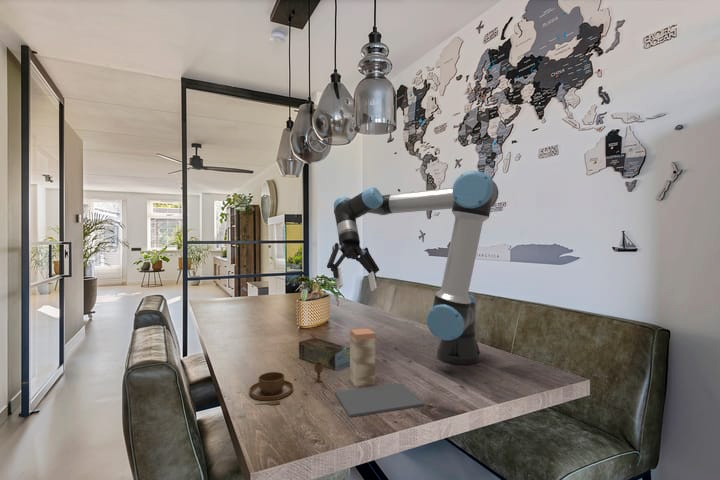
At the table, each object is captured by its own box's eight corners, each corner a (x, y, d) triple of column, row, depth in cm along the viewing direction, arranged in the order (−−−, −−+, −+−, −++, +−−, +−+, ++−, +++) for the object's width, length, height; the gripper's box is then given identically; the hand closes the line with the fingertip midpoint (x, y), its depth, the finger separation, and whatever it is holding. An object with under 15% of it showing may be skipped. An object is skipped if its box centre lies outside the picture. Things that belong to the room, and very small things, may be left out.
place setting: (257, 381, 110) (257, 362, 110) (323, 380, 111) (323, 361, 111) (241, 408, 93) (241, 385, 93) (320, 406, 94) (320, 383, 94)
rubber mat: (401, 384, 107) (401, 382, 107) (424, 405, 93) (424, 403, 93) (334, 393, 100) (334, 391, 100) (349, 417, 87) (349, 414, 87)
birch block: (368, 376, 113) (368, 328, 113) (375, 384, 107) (375, 333, 107) (349, 378, 111) (350, 329, 111) (355, 386, 106) (356, 334, 105)
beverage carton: (334, 371, 118) (334, 351, 118) (297, 358, 131) (297, 340, 131) (351, 365, 124) (351, 346, 124) (314, 353, 136) (314, 336, 136)
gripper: (370, 244, 143) (381, 295, 133) (313, 235, 130) (319, 290, 120) (381, 235, 138) (393, 286, 127) (322, 224, 125) (330, 281, 114)
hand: (357, 288), depth 123 cm, fingers open, 13 cm apart
